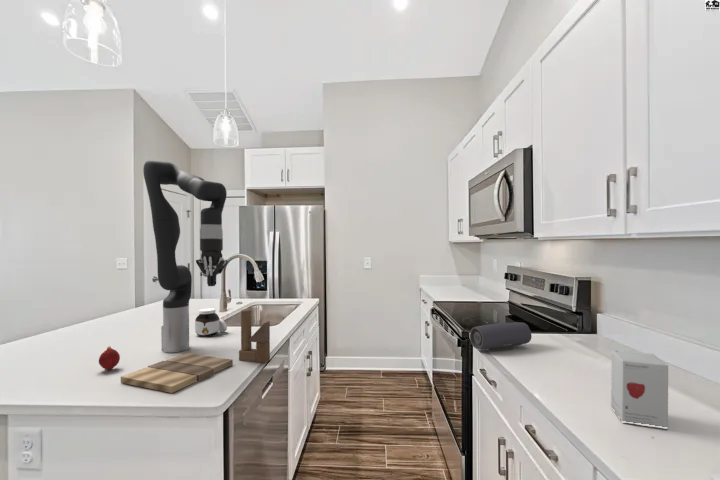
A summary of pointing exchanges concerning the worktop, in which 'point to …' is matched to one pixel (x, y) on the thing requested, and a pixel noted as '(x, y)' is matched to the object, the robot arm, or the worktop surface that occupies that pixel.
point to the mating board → (185, 369)
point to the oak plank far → (203, 361)
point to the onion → (109, 358)
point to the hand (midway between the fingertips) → (211, 285)
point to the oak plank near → (159, 379)
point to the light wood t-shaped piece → (254, 340)
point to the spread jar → (209, 323)
